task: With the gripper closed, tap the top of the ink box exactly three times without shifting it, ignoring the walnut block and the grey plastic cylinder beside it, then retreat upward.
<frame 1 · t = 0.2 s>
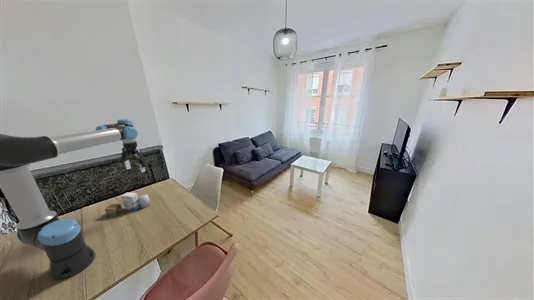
hand: (135, 170, 123), 28 cm above the table, fingers open, 13 cm apart
walnut block: (115, 213, 119), on the table
ink box: (132, 208, 125), on the table
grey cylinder: (145, 205, 128), on the table
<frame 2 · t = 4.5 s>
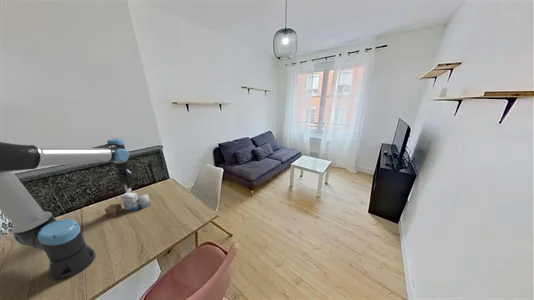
hand: (129, 191, 121), 14 cm above the table, fingers closed
nothing on the table moved.
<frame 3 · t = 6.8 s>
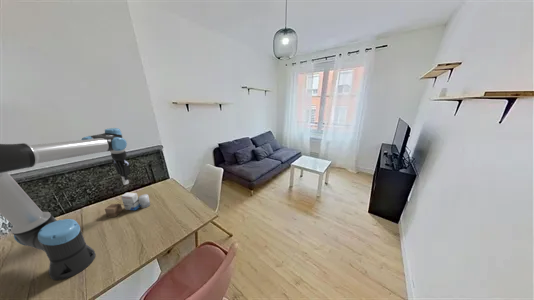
hand: (126, 183, 119), 20 cm above the table, fingers closed
nothing on the table moved.
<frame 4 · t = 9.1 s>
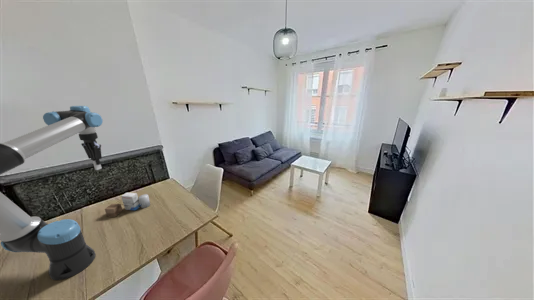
hand: (98, 169, 108), 34 cm above the table, fingers closed
nothing on the table moved.
at the end: ink box moved 0.3 cm from its start; ink box tilted 0°; walnut block moved 0.1 cm from its start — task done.
